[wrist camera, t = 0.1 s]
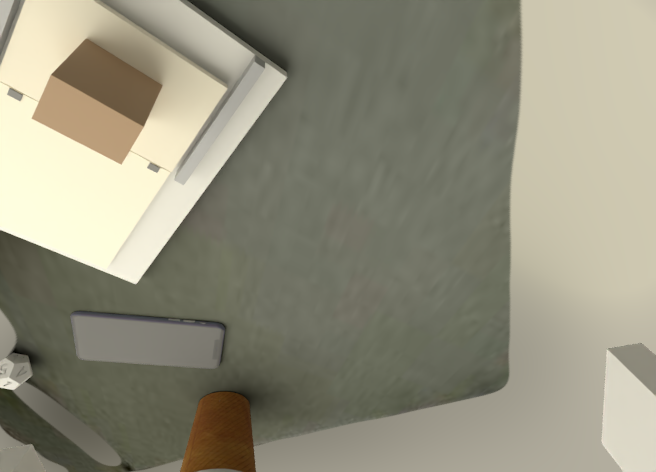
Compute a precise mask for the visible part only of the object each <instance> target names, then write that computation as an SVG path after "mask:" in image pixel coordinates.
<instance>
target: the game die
mask: <svg viewBox="0 0 656 472" xmlns="http://www.w3.org/2000/svg"><path fill="white" fill-rule="evenodd" d="M32 375H33V373H32V368H31V364H30V361H29V357H28V356H26V355H22V354H17V353H12V354H11V355H9V356H7V357H6V358H4V359H3V360H2V361H1V362H0V387H1V388H6V389H12V390H14V389H16V388H17V387H18V386H20V385H21V384H22V383H24V382H25V381H26V380H27V379H28V378H30V377H31V376H32Z"/></svg>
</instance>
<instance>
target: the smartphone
mask: <svg viewBox="0 0 656 472" xmlns="http://www.w3.org/2000/svg"><path fill="white" fill-rule="evenodd" d="M71 321H72V327H73V334H74V340H75V347H76V353H77V357H79V358H80V359H83V360H91V361H105V362H120V363H134V364H148V365H162V366H176V367H190V368H205V369H214V368H217V367H218V366H219V365H220V360H221V353H222V347H223V340H224V333H225V327H224V326H223V325H222V324H220V323H216V322H205V321H195V320H181V319H173V318H158V317H146V316H134V315H122V314H109V313H97V312H84V311H77V312H74V313H72V314H71Z"/></svg>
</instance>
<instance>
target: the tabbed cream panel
mask: <svg viewBox="0 0 656 472" xmlns="http://www.w3.org/2000/svg"><path fill="white" fill-rule="evenodd" d="M0 81H1V82H3V83H5V84H7V85H9V86H11V87H13V88H14V89H16V90H18V91H20V92H22V93H24V94H26V95H28V96H29V97H31V98H33V99H35V100H37V101H39V103H38V105H37V107H36V109H35V112H34V114H33V116H32V118H31V119H33V120H35V121H37V122H39V123H41V124H43V125H45V126H47V127H49V128H51V129H53V130H55V131H57V132H59V133H61V134H63V135H64V136H66V137H68V138H70V139H72V140H74V141H76V142H78V143H80V144H82V145H84V146H86V147H88V148H90V149H92V150H94V151H96V152H98V153H99V154H101V155H103V156H105V157H107V158H109V159H111V160H113V161H115V162H117V163H119V164H121V165H122V163H123V161H124V160H125V158H126V156H127V155H128V153H129V151H130V150H131V151H133V152H135V153H136V154H138V155H140V156H142V157H144V158H146V159H148V160H150V161H151V162H153V163H155V164H157V165H159V166H161V167H163V168H165V169H166V170H168V171H170V172H172V171H173V170H174V168H175V167H176V165H177V164H178V162H179V161H180V159H181V158H182V156H183V155H184V153H185V152H186V150H187V149H188V147H189V146H190V144H191V143H192V141H193V140H194V138H195V137H196V135H197V134H198V132H199V131H200V129H201V128H202V126H203V125H204V123H205V122H206V120H207V119H208V117H209V116H210V114H211V113H212V111H213V110H214V108H215V107H216V105H217V104H218V102H219V101H220V99H221V98H222V96H223V95H224V93H225V92H226V90H227V89H228V85H227V84H226V83H224V82H223V81H221V80H220V79H218V78H217V77H215V76H214V75H212V74H210V73H209V72H207V71H206V70H204V69H203V68H201V67H200V66H198V65H197V64H195V63H194V62H192V61H191V60H189V59H188V58H186V57H185V56H183V55H182V54H180V53H179V52H177V51H176V50H174V49H173V48H171V47H170V46H168V45H167V44H165V43H164V42H162V41H161V40H159V39H158V38H156V37H154V36H153V35H151V34H150V33H148V32H147V31H145V30H144V29H142V28H141V27H139V26H138V25H136V24H135V23H133V22H132V21H130V20H129V19H127V18H126V17H124V16H123V15H121V14H120V13H118V12H117V11H115V10H114V9H112V8H111V7H109V6H108V5H106V4H105V3H103V2H102V1H100V0H25V2H24V5H23V7H22V10H21V13H20V15H19V18H18V21H17V23H16V26H15V29H14V31H13V34H12V36H11V39H10V42H9V44H8V47H7V50H6V52H5V55H4V58H3V60H2V63H1V66H0Z"/></svg>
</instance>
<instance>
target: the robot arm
mask: <svg viewBox="0 0 656 472" xmlns="http://www.w3.org/2000/svg"><path fill="white" fill-rule="evenodd" d="M601 443H602V444H603V446H604V447H605V448H606V450H607V451H608V452H609V453H610V455H611V456H612V457H613V459H614V460H615V461H616V463H617V464H618V465H619V467H620V468H621V469H622V470H623V472H656V355H655V354H653V353H652V352H651V351H650V350H649V349H648V348H647V347H645V346H644V345H643V344H642V343H638V344H632V345H626V346H621V347H615V348H608V349H607V357H606V374H605V391H604V408H603V426H602V442H601ZM0 472H46V470H45V469H44V467H43V465H42V463H41V461H40V459H39V457H38V455H37V453H36V451H35V449H34V447H33V445H32V444H30V445H24V446H18V447H12V448H6V449H0Z"/></svg>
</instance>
